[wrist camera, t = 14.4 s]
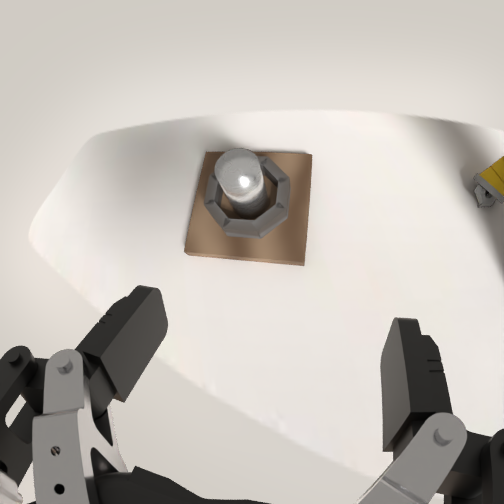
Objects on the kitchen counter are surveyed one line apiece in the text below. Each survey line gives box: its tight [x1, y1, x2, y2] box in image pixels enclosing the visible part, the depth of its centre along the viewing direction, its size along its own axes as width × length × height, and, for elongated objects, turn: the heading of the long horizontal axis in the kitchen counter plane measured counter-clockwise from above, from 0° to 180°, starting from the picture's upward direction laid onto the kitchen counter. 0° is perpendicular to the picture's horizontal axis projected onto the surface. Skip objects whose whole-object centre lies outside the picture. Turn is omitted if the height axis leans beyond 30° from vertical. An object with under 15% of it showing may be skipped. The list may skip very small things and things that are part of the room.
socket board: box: [184, 152, 312, 266], centre depth 37 cm, size 14×14×4 cm
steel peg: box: [215, 148, 269, 219], centre depth 33 cm, size 4×4×8 cm
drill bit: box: [474, 156, 504, 207], centre depth 31 cm, size 5×5×10 cm
